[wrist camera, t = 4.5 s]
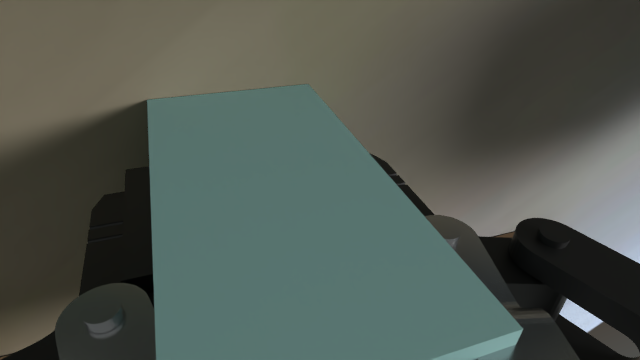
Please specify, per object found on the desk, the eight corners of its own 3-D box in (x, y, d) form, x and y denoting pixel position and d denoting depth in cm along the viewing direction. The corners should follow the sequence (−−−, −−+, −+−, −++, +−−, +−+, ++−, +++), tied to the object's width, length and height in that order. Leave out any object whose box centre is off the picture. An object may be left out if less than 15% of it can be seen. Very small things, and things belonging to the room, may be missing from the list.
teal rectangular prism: (147, 99, 10) (160, 448, 4) (308, 84, 11) (523, 329, 5) (176, 242, 12) (214, 594, 6) (306, 217, 14) (446, 492, 7)
